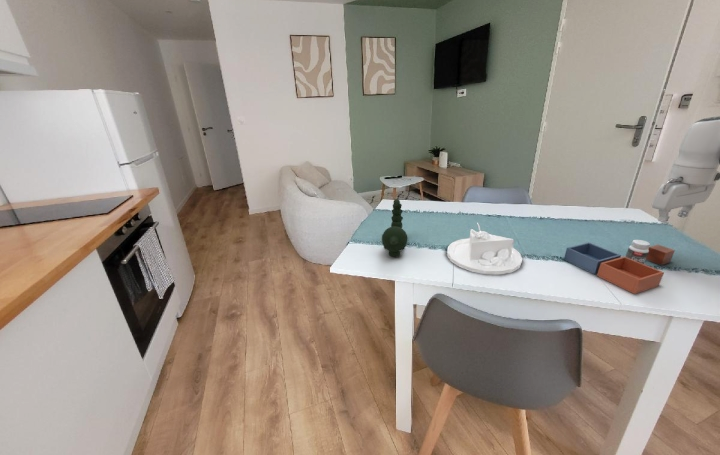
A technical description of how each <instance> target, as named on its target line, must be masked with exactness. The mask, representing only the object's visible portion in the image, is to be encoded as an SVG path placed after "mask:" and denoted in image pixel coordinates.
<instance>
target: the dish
mask: <svg viewBox="0 0 720 455" xmlns="http://www.w3.org/2000/svg"><path fill="white" fill-rule="evenodd" d="M476 225H477V228H478V231H476V230H474V229H473V228H471V229H470V233H469V237H467V238H461V239H457V240H455V241H452V242H451V243H450V244H449V245H448V246H447V250H446V257H447V258H448V259H449V261H450V262H452V263H453V264H454V265H456V266H457V267H458V268H461V269H463V270H466V271H468V272H471V273H477V274H482V275H494V276H495V275H496V276H497V275H499V276H500V275H505V274H506V275H507V274H511V273H513V272H516V271H517V270H519V269H520V268H521V265H522V263H523V257H522V254H521V253H520V252H519V251H518V250H517V249H516V248H514V242H515V239H513V238H509V237H504V236H500V235H494V234H490V233H489V232H487V231H484V230H481V226H480V224H479V223H478V222H476Z"/></svg>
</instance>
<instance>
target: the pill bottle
mask: <svg viewBox="0 0 720 455" xmlns="http://www.w3.org/2000/svg"><path fill="white" fill-rule="evenodd" d="M650 245H651V243H650V242H649V241H646V240H643V239H633V240H632V242H631V245H629V246H628V249H627V252H626V254H625V257H627V258H629V259H632V260H634V261H637V262H639V263H642V264H644V265H645V263H646V261H647V260H646V257H647V255H648V252H649V250H648V248H649V247H651V246H650Z"/></svg>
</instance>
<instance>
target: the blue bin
mask: <svg viewBox="0 0 720 455" xmlns="http://www.w3.org/2000/svg"><path fill="white" fill-rule="evenodd" d="M620 257H622V254H620V253H617V252H614V251H612V250H610V249H607V248H604V247H602V246H599V245H596V244H594V243H592V242H588V241H587V242H585V243H581V244H577V245H573V246H569V247H566V248H565V253H564V257H563V260H564V261H566V262H568V263H570V264H572V265H574V266H576V267H578V268H580V269H582V270H584V271H586V272H588V273H590V274H592V275H597V274H598V271H599V267H600V264H601V263H603V262H606V261H610V260H613V259H617V258H620Z"/></svg>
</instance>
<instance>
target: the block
mask: <svg viewBox="0 0 720 455" xmlns="http://www.w3.org/2000/svg"><path fill="white" fill-rule="evenodd" d="M648 250H649V252H648V255H647V257H646V260H645V261H649V262H651V263H654V264H656V265H659V266H663V265H666V264H669V263H671V261H672V258H673V256H674V253H675V251H676V250H675V249H673V248H670V247H666V246H663V245H660V244H655V245H652V246H649V248H648Z"/></svg>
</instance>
